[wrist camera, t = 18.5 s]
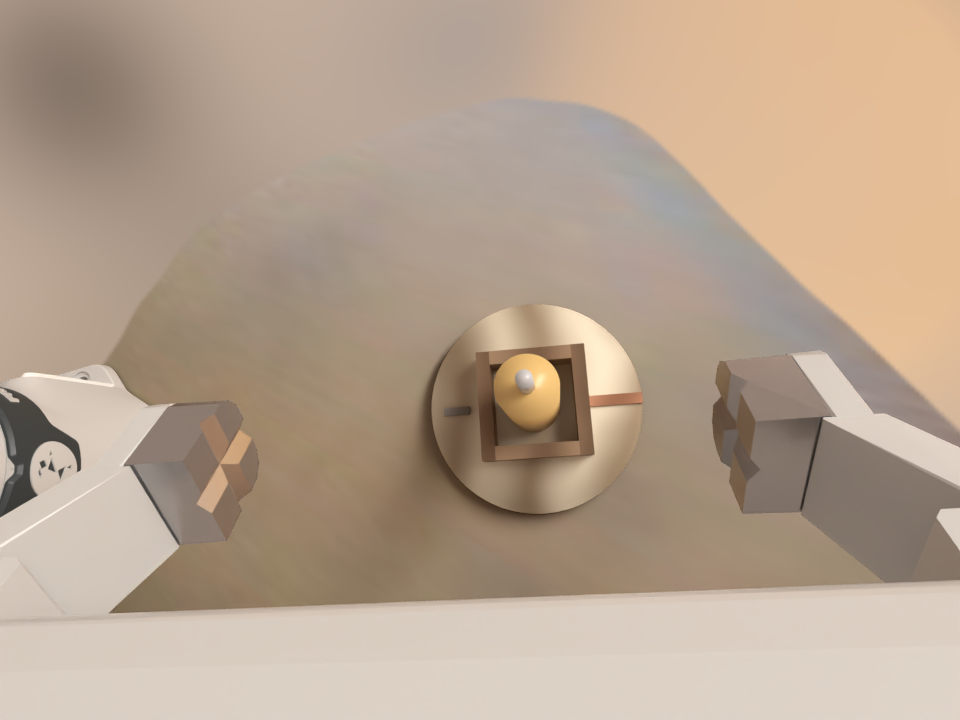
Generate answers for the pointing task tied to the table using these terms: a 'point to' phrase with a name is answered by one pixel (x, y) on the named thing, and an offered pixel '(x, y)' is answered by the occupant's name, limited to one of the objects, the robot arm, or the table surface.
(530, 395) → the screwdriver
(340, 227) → the table surface
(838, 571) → the table surface
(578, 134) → the table surface
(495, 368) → the dial plate
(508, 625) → the robot arm
